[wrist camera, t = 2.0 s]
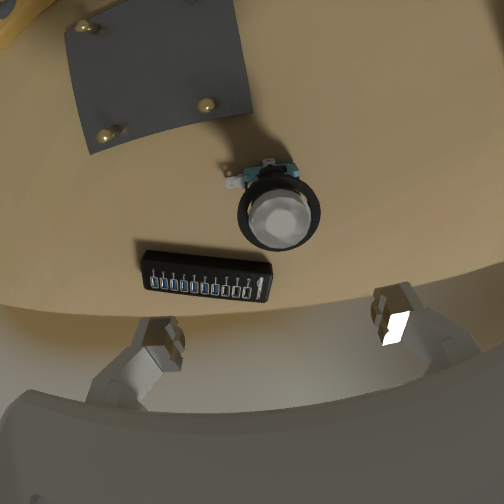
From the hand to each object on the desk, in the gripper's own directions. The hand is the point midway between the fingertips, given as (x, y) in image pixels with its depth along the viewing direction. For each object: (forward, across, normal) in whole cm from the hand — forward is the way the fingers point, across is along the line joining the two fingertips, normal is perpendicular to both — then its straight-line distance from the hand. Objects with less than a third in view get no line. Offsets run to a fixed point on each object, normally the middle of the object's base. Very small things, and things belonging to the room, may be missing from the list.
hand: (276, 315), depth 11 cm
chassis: (+17, +8, -13) cm, 23 cm away
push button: (+17, 0, 0) cm, 17 cm away
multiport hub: (+18, +8, +10) cm, 22 cm away
